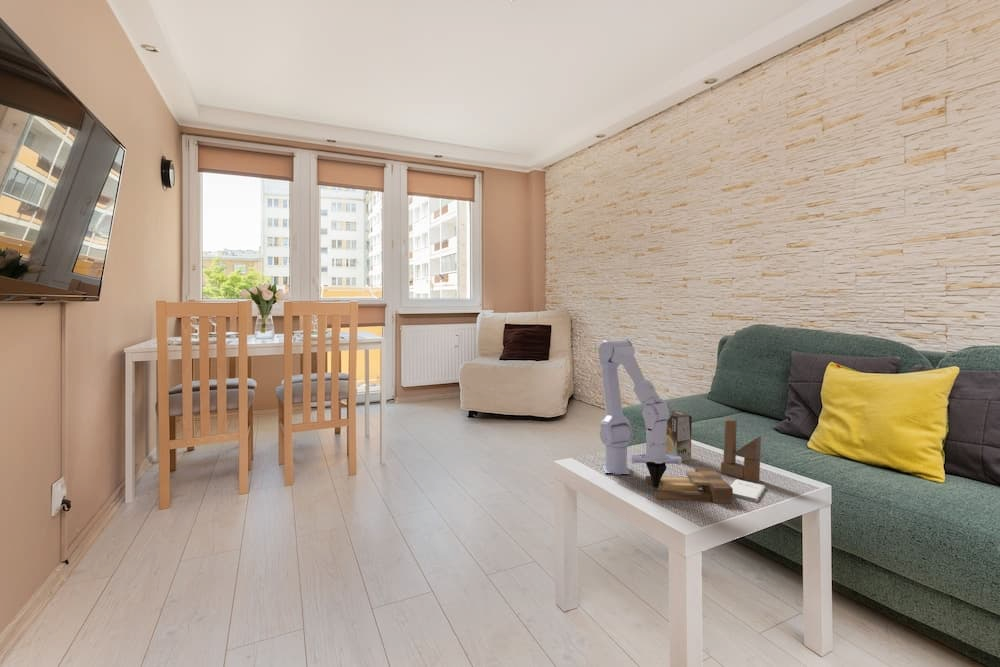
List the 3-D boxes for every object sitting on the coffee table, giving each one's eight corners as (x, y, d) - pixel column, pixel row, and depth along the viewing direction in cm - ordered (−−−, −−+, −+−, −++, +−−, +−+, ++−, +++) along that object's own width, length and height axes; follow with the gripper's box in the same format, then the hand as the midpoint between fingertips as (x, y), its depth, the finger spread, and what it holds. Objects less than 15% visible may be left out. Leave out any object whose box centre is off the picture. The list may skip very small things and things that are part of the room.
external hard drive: (725, 496, 134) (735, 483, 144) (756, 504, 129) (765, 490, 139) (725, 491, 134) (735, 478, 144) (756, 498, 129) (765, 485, 139)
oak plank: (658, 486, 142) (658, 476, 141) (691, 487, 141) (692, 477, 140) (663, 494, 136) (663, 484, 135) (698, 495, 135) (698, 485, 134)
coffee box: (692, 460, 164) (693, 415, 163) (677, 461, 162) (677, 417, 161) (675, 452, 173) (675, 410, 172) (660, 453, 171) (661, 411, 170)
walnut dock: (644, 479, 146) (644, 466, 146) (711, 481, 144) (711, 468, 144) (656, 500, 130) (657, 485, 130) (732, 503, 128) (732, 488, 128)
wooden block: (755, 483, 143) (756, 426, 142) (720, 473, 151) (721, 419, 150) (759, 480, 145) (761, 424, 144) (725, 470, 153) (727, 417, 152)
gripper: (633, 445, 134) (633, 491, 135) (685, 447, 133) (684, 492, 133) (629, 438, 141) (628, 481, 142) (678, 439, 140) (677, 483, 140)
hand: (655, 486), depth 138 cm, fingers closed
